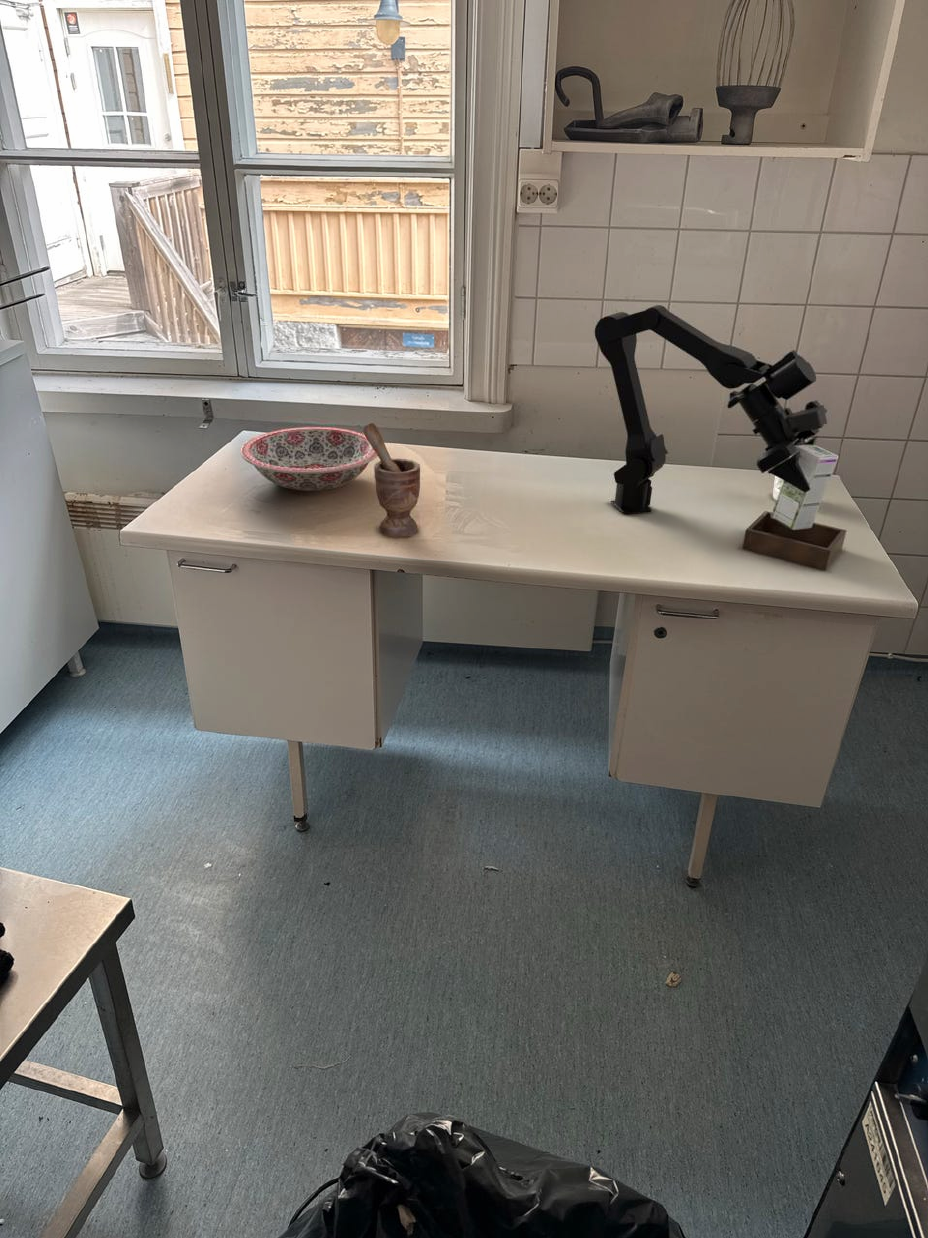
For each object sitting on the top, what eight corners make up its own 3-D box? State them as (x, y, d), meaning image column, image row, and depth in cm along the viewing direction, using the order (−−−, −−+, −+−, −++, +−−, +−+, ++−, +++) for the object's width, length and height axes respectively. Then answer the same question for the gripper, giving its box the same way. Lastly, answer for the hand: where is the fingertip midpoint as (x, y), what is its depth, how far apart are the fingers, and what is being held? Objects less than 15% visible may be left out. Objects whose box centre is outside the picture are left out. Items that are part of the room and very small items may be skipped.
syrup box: (812, 528, 169) (841, 455, 162) (791, 530, 166) (820, 456, 159) (789, 515, 173) (816, 443, 166) (768, 517, 170) (795, 444, 163)
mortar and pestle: (354, 534, 172) (351, 432, 163) (368, 517, 180) (366, 418, 170) (413, 541, 170) (413, 438, 161) (424, 523, 178) (425, 424, 168)
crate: (741, 548, 172) (745, 529, 170) (761, 529, 180) (765, 510, 178) (825, 570, 164) (830, 550, 162) (841, 549, 173) (846, 530, 171)
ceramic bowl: (218, 479, 196) (214, 443, 192) (330, 452, 213) (328, 418, 209) (292, 520, 177) (290, 481, 173) (408, 487, 195) (408, 451, 191)
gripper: (789, 399, 153) (840, 476, 153) (819, 378, 166) (866, 448, 167) (735, 435, 160) (784, 508, 160) (768, 411, 174) (813, 479, 174)
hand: (813, 485), depth 165 cm, fingers closed on syrup box, 7 cm apart
